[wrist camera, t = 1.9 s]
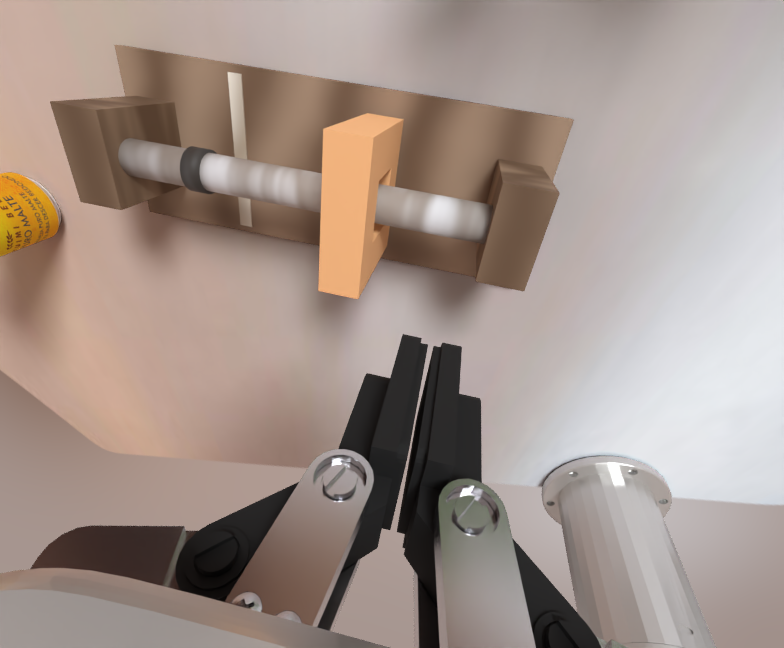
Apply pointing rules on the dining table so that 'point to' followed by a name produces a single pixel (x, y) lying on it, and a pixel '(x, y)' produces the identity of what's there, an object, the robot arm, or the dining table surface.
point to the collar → (355, 199)
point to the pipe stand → (316, 160)
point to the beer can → (25, 213)
